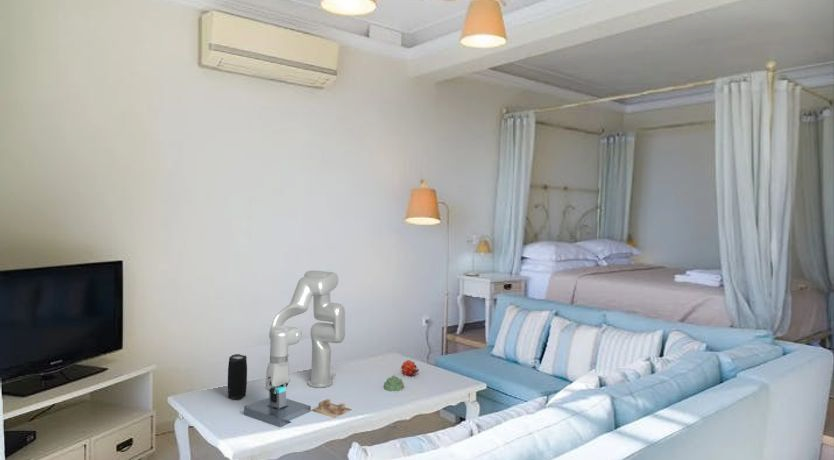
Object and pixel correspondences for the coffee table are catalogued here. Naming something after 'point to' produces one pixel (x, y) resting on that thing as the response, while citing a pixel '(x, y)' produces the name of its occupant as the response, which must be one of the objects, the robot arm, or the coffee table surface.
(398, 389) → the decorative artifact
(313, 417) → the coffee table surface
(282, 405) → the plug
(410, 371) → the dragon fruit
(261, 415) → the port
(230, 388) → the portable speaker
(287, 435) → the coffee table surface
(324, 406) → the brown holder base
